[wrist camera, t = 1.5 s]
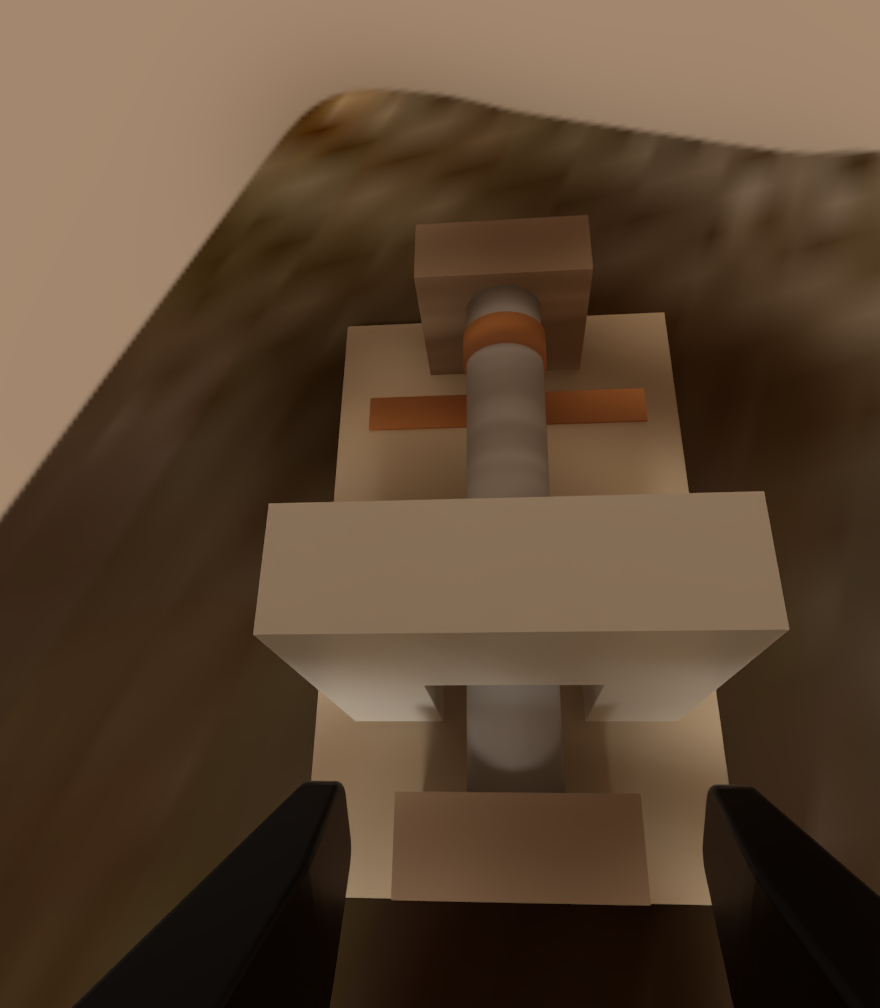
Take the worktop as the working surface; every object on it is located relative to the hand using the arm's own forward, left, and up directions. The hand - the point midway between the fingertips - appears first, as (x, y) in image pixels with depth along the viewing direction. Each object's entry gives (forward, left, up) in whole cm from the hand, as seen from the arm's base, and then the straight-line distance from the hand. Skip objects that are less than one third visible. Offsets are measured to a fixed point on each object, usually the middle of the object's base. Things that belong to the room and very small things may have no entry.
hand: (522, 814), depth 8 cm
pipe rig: (+7, -3, -14) cm, 16 cm away
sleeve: (+4, -1, -12) cm, 13 cm away
